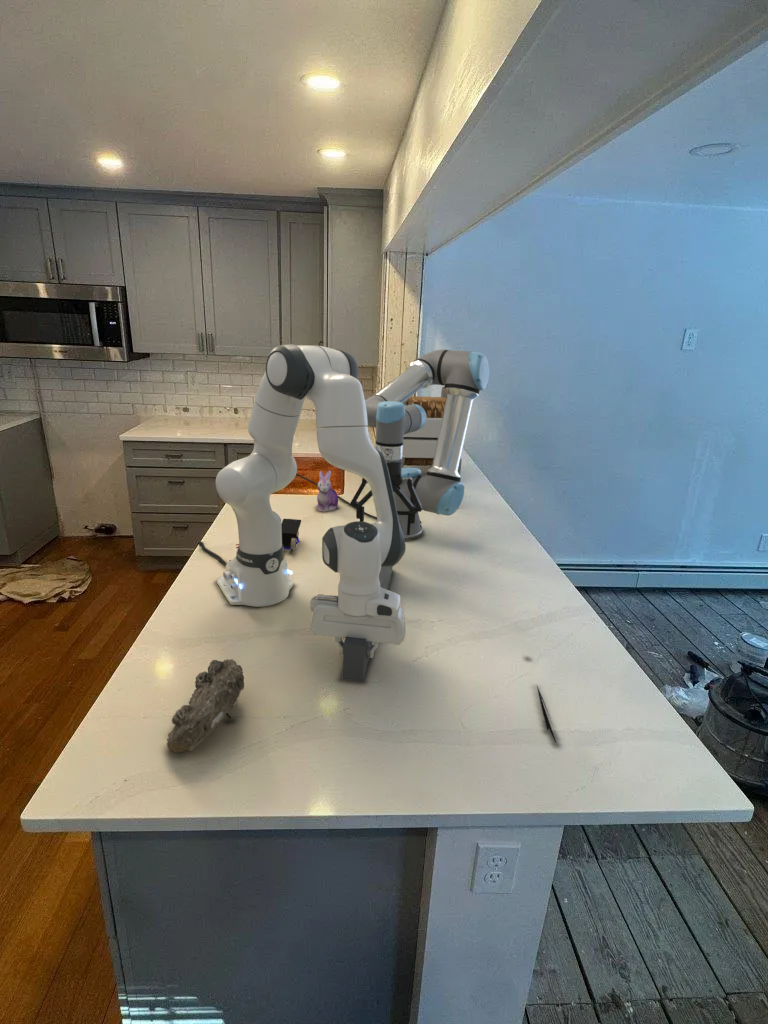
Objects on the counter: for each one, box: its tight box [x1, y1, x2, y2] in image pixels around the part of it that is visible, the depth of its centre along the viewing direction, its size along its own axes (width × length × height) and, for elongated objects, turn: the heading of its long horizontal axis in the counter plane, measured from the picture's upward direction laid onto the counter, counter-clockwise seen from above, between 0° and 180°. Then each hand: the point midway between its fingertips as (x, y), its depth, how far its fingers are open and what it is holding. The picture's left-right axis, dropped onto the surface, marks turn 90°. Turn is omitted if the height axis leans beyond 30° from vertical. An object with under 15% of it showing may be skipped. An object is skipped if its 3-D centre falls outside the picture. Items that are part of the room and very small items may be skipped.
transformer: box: [401, 386, 463, 476], centre depth 268 cm, size 34×33×41 cm
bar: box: [341, 566, 394, 682], centre depth 145 cm, size 55×4×9 cm, turn 173°
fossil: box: [166, 658, 245, 754], centre depth 106 cm, size 22×10×15 cm
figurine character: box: [281, 518, 302, 554], centre depth 184 cm, size 7×8×15 cm
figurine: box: [316, 469, 339, 512], centre depth 219 cm, size 9×10×15 cm
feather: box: [527, 657, 557, 743], centre depth 118 cm, size 2×28×2 cm
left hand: (357, 654), depth 124 cm, fingers closed on bar, 4 cm apart
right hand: (384, 531), depth 162 cm, fingers open, 13 cm apart
